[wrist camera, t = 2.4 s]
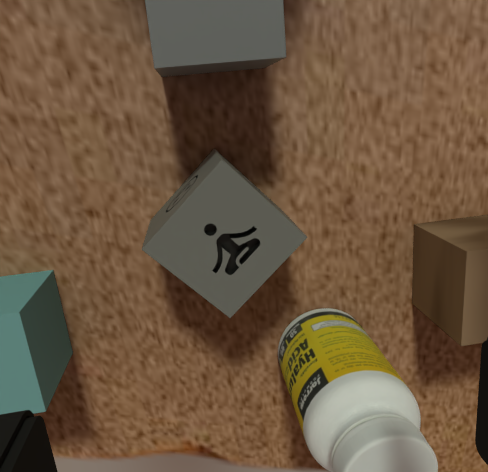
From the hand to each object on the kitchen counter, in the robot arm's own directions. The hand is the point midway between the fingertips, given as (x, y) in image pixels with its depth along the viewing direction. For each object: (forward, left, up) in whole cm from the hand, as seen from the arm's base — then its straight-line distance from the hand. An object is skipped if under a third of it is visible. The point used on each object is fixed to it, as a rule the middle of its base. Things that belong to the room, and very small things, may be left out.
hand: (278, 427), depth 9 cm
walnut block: (-13, +3, -15) cm, 20 cm away
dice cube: (0, -1, -15) cm, 15 cm away
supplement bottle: (-5, +8, -15) cm, 18 cm away
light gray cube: (0, -11, -15) cm, 18 cm away
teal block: (+12, +3, -15) cm, 19 cm away
